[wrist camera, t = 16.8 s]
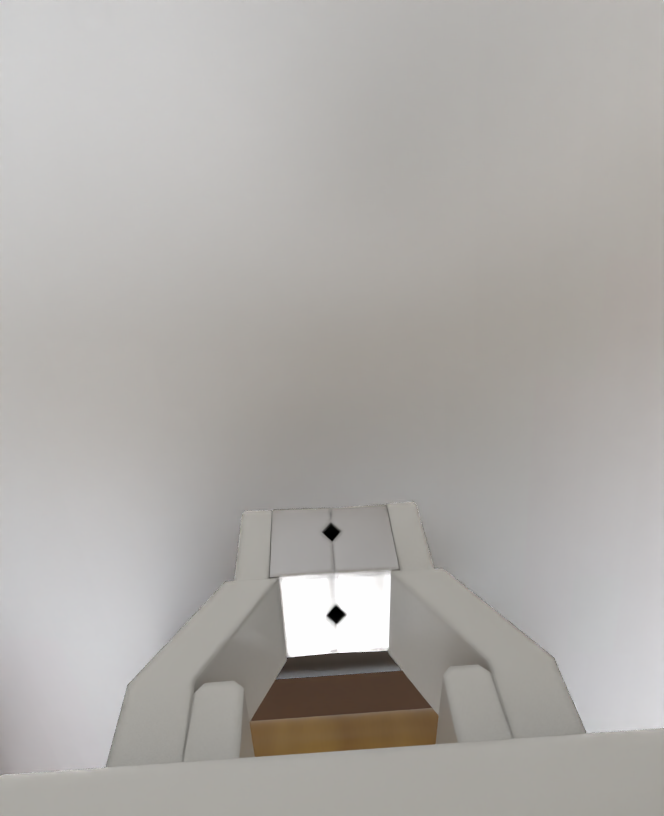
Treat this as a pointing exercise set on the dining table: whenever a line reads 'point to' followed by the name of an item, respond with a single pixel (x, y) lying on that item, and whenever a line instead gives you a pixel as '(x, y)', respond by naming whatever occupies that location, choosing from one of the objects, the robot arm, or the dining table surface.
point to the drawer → (342, 715)
